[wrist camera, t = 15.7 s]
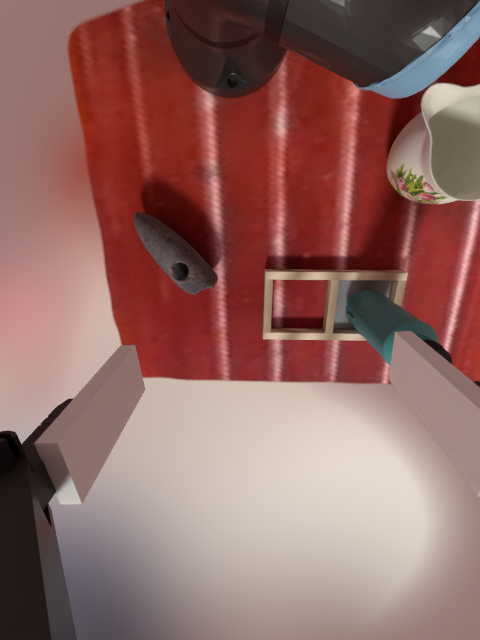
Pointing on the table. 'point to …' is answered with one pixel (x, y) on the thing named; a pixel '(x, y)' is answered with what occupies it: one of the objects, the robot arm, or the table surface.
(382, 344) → the beverage bottle
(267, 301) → the bottle rack
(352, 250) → the table surface
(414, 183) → the pitcher
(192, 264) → the perforated stone tool
